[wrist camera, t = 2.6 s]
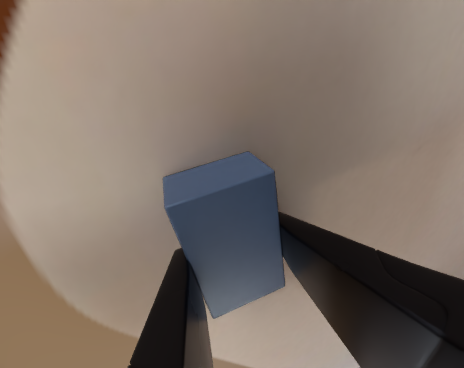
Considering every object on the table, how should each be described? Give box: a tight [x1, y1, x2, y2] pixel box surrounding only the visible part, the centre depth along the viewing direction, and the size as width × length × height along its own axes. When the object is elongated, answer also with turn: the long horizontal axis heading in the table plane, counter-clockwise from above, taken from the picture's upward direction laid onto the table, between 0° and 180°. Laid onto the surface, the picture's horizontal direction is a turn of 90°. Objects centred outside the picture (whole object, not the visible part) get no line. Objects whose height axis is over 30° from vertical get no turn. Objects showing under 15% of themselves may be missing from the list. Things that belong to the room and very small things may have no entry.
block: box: [163, 151, 285, 319], centre depth 8 cm, size 6×3×2 cm, turn 11°
